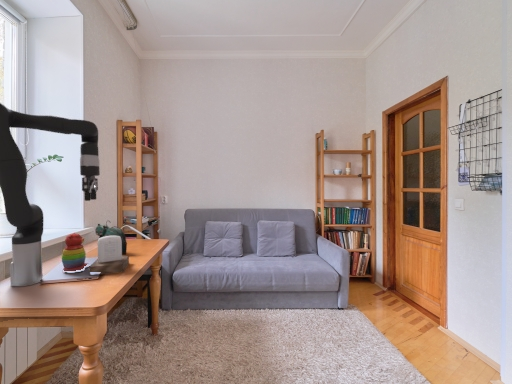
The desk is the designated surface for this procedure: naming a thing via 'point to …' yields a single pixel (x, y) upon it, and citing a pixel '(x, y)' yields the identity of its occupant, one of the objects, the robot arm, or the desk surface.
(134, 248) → the desk surface
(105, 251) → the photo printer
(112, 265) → the walnut block
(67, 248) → the stacking bear
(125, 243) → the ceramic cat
